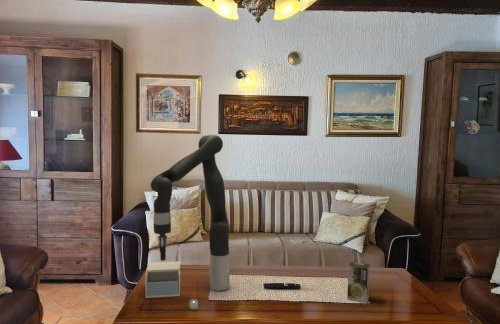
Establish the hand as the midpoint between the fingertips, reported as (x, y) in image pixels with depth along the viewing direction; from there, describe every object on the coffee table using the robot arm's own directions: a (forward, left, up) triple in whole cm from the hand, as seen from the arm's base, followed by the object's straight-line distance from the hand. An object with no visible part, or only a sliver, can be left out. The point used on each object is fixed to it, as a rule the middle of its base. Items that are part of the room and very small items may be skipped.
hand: (163, 259), depth 173 cm
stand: (-13, +9, -20) cm, 25 cm away
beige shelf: (+1, -12, -20) cm, 23 cm away
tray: (+1, -12, -18) cm, 22 cm away
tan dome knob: (+1, -11, -17) cm, 21 cm away
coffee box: (-89, +9, -20) cm, 92 cm away
